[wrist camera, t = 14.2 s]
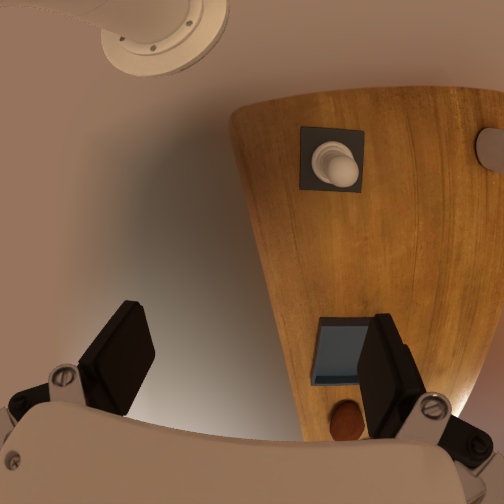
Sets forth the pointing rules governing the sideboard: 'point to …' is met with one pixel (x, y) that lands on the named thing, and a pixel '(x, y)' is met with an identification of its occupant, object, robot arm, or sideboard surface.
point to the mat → (318, 136)
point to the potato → (347, 423)
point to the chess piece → (335, 164)
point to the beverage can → (491, 149)
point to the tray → (338, 351)
